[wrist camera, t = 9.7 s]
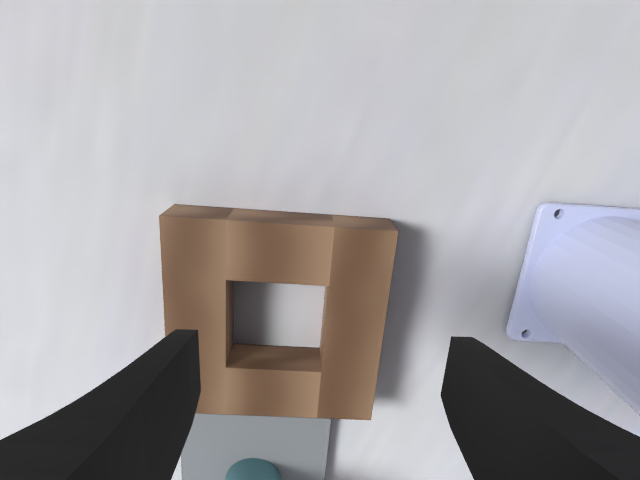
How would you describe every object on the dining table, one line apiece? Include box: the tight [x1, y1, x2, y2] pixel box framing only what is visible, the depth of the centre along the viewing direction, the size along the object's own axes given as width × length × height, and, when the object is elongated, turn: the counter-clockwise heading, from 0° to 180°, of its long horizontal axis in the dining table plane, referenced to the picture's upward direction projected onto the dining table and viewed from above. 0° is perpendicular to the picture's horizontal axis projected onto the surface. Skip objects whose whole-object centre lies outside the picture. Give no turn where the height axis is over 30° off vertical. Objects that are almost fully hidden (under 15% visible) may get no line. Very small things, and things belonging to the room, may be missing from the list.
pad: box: [181, 413, 331, 480], centre depth 26 cm, size 9×10×1 cm
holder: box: [159, 204, 398, 420], centre depth 21 cm, size 11×11×2 cm
